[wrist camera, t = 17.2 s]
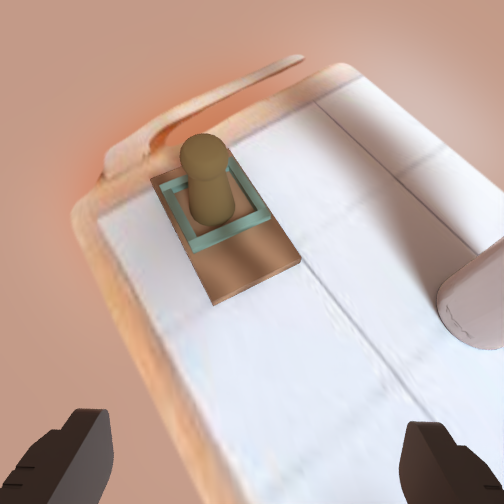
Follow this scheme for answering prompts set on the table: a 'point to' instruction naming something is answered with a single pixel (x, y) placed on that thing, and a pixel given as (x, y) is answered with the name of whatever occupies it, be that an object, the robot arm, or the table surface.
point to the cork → (207, 179)
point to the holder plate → (228, 235)
